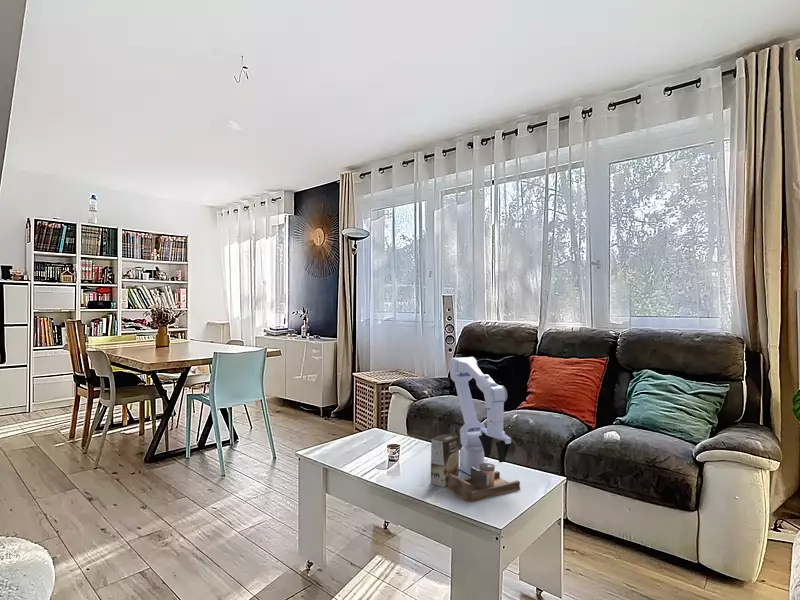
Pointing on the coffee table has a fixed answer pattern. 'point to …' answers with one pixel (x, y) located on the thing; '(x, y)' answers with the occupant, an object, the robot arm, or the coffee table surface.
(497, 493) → the pusher lane
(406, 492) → the coffee table surface
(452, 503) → the coffee table surface
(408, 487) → the coffee table surface
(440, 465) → the coffee box
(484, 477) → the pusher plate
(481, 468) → the jar
